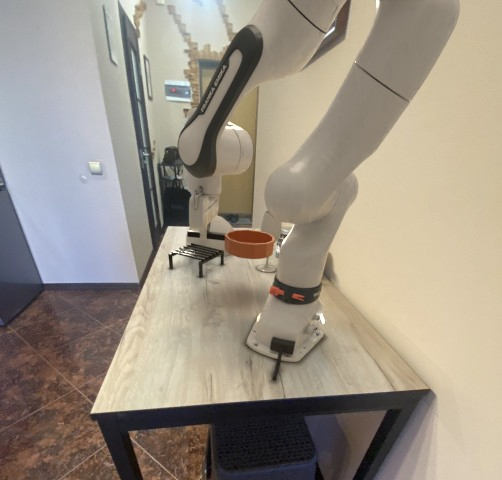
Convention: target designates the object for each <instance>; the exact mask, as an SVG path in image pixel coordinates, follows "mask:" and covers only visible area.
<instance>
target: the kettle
mask: <svg viewBox="0 0 502 480" xmlns="http://www.w3.org/2000/svg"><path fill="white" fill-rule="evenodd" d="M218 214H219V213H218ZM218 214H217V215H216V216H215V217H214V218H213V220H212V221H211V228H210V232H220V233H227V232H230V231H233V230H235V229H234V227H233V226H232V225H231V224H230V222H229V221H228V220H226V219H225V218H224V217H223V216H220V215H218ZM189 229H191V228H190V227H189V228H188V230H189ZM192 230H198V229H192ZM190 243H194V244H198V245H202V246H206V247H211V248H215V249H219V250H223V251H224V257H228V256H231V255H230V254H229V253H227V252H226V250H225V241H222V240H213V239H206V240H201V239H200V238H195V237H188V236H187V235H186V237H185V244H186V245H185V246H187V245H190ZM201 248H202V247H201ZM205 249H206V248H205ZM189 250H190V249H189ZM199 250H200V249H199ZM209 250H210V249H209ZM203 251H204V250H203ZM213 251H214V250H213ZM197 252H198V251H197ZM207 252H208V251H207ZM217 252H218V251H217ZM190 253H192V252H190ZM201 253H202V252H201ZM211 253H212V252H211ZM205 254H206V253H205ZM198 255H199V254H198ZM209 255H210V254H209ZM202 256H203V255H202ZM217 258H221V255H220V256H218V257H217Z"/></svg>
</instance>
